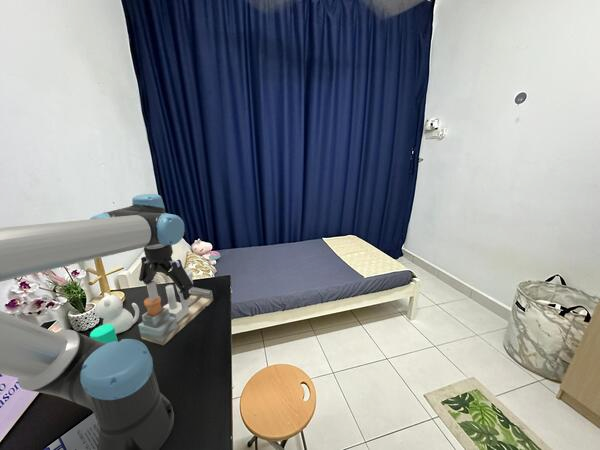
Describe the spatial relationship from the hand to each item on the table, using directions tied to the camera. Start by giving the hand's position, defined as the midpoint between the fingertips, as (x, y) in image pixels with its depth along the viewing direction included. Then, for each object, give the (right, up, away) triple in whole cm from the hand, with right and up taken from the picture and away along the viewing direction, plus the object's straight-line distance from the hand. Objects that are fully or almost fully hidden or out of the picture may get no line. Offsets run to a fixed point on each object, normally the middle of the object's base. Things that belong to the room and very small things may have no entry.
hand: (169, 303), depth 83 cm
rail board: (-4, -11, +16) cm, 20 cm away
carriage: (-5, -9, +13) cm, 16 cm away
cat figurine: (-24, -13, +11) cm, 29 cm away
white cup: (-10, -5, +34) cm, 36 cm away
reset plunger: (-7, -6, +5) cm, 11 cm away
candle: (-19, -17, -2) cm, 25 cm away
